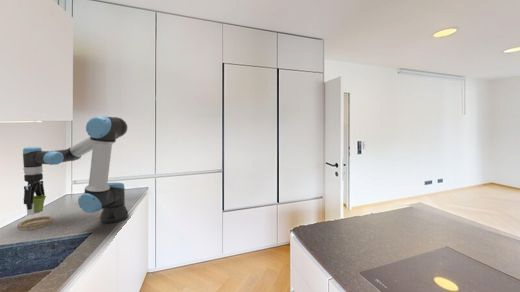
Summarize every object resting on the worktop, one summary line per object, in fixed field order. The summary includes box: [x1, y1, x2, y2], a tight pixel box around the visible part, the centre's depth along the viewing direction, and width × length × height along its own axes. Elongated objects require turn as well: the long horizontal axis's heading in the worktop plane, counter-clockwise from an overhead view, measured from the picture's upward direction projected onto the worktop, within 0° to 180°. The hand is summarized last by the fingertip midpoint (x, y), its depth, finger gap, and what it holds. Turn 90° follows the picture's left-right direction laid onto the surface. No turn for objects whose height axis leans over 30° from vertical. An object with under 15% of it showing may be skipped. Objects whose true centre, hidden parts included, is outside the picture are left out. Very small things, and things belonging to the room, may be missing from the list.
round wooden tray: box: [17, 215, 54, 231], centre depth 131 cm, size 14×14×2 cm
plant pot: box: [23, 195, 47, 215], centre depth 130 cm, size 9×9×9 cm
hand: (35, 211), depth 130 cm, fingers closed on plant pot, 8 cm apart
